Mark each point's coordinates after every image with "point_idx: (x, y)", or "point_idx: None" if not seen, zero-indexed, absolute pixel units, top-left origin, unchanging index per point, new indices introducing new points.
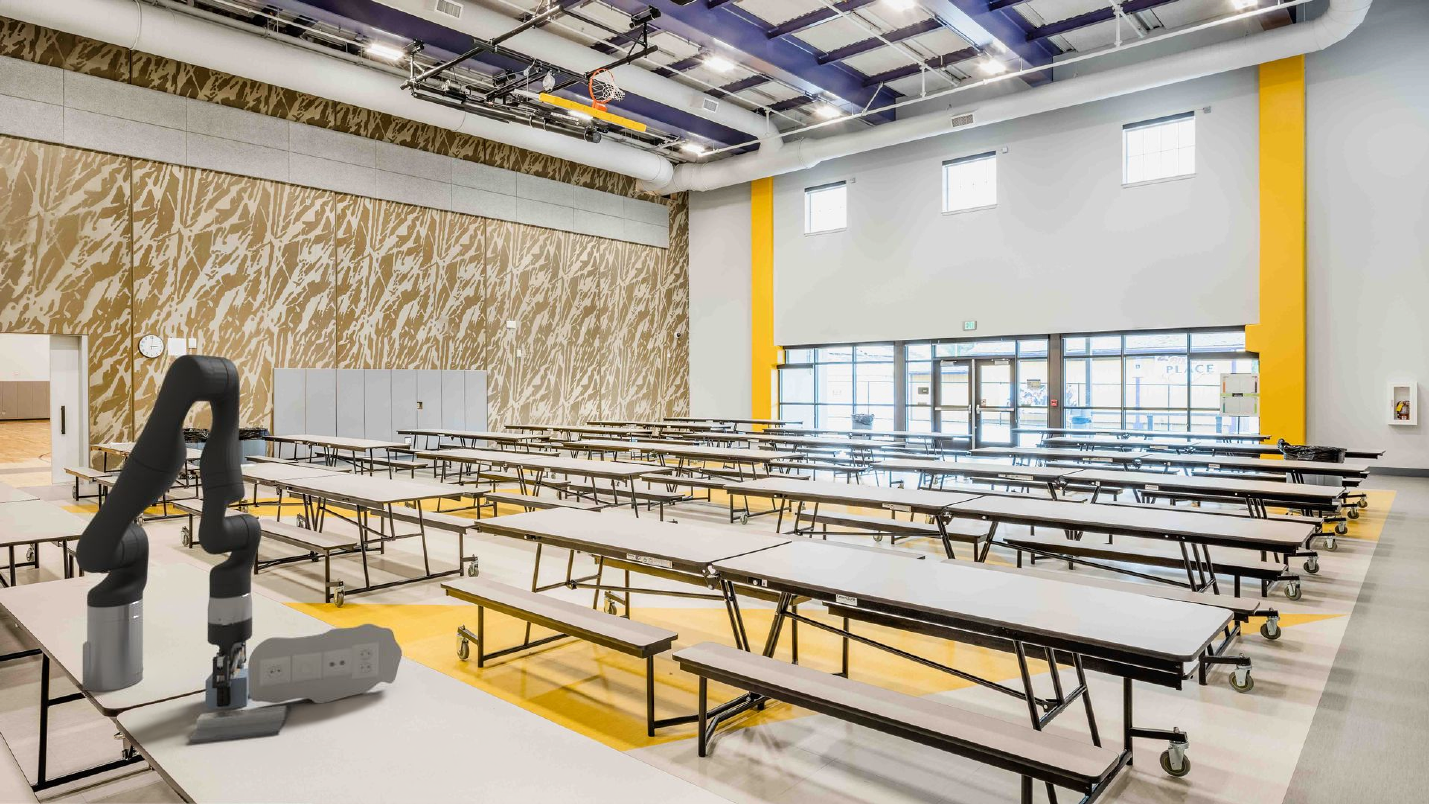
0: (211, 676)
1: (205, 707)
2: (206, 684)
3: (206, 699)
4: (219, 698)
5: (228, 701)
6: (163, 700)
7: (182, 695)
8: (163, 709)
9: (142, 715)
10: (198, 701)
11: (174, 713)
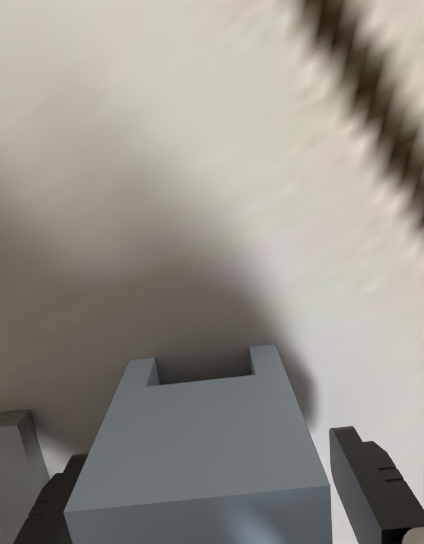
0: (178, 518)
1: (126, 368)
2: (79, 486)
3: (115, 400)
4: (33, 517)
5: None
6: (328, 35)
7: (392, 132)
8: (166, 113)
9: (77, 12)
10: (264, 274)
11: (97, 213)
